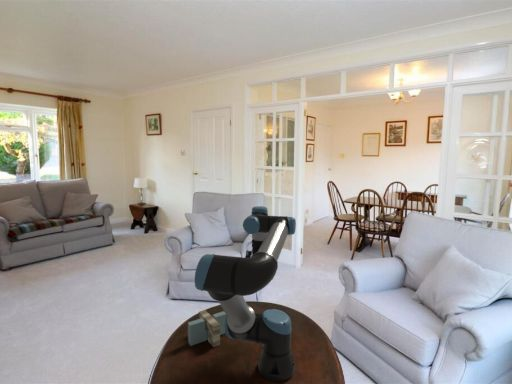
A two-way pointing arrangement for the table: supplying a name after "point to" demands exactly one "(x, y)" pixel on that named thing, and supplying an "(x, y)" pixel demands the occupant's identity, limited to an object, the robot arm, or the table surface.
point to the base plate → (198, 330)
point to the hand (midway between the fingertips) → (259, 281)
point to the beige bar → (211, 328)
